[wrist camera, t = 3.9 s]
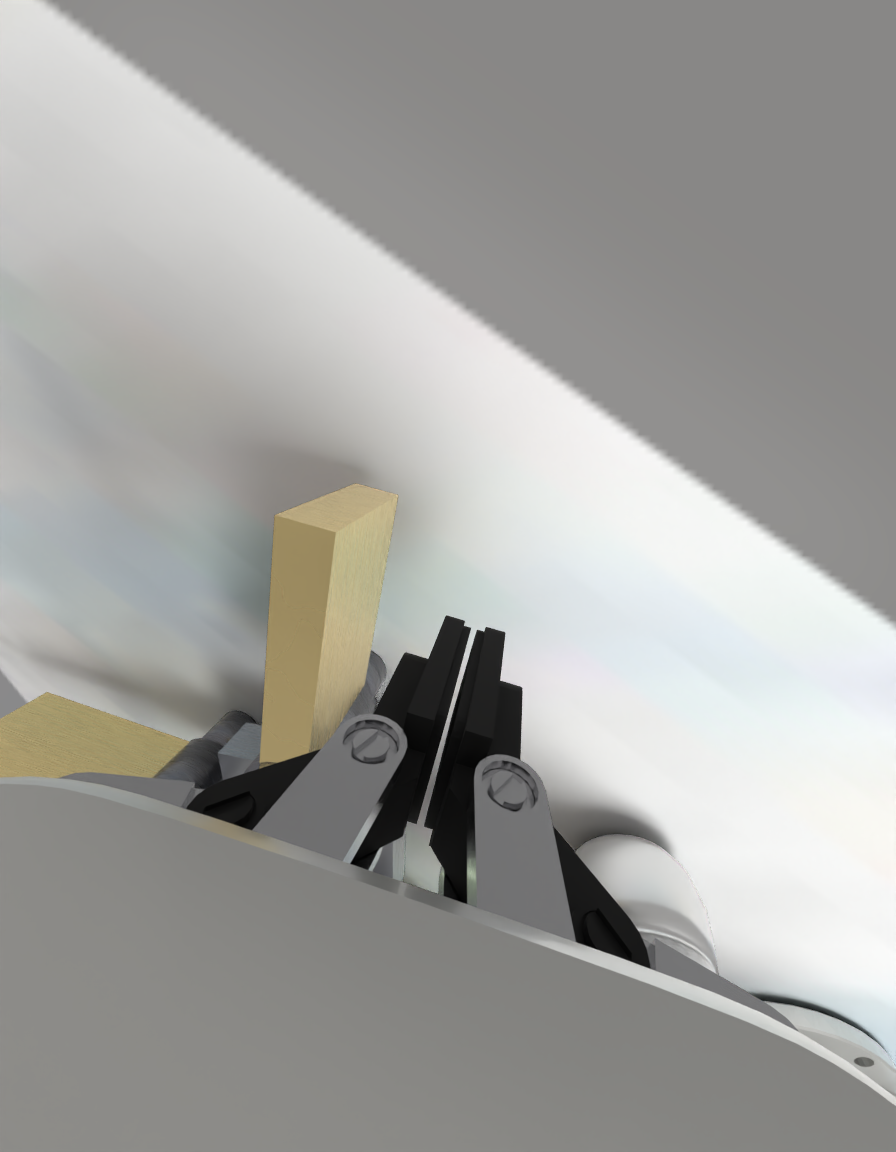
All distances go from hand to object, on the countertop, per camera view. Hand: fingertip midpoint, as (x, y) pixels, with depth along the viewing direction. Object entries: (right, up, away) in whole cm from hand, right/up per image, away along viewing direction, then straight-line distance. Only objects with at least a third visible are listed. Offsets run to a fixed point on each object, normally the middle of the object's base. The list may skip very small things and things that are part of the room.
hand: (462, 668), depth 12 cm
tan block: (-16, -5, +13) cm, 21 cm away
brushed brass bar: (-4, +2, +8) cm, 9 cm away
